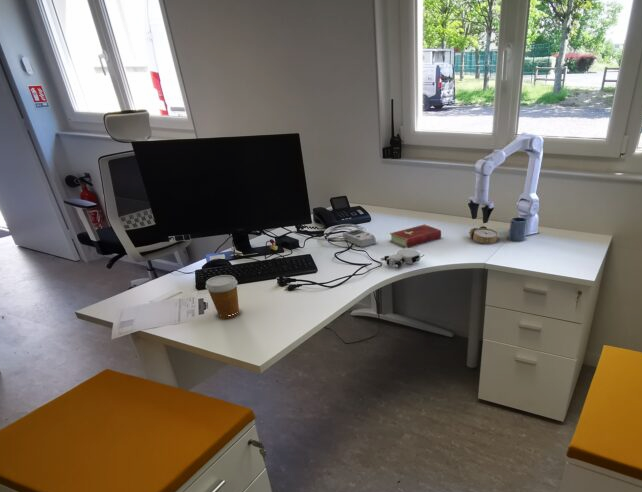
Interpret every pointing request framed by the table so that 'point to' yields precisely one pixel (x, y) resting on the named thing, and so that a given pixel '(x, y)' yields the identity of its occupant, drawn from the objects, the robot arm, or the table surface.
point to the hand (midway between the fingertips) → (479, 220)
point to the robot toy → (402, 257)
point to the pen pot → (517, 229)
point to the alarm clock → (484, 235)
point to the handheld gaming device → (359, 237)
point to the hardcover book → (415, 236)
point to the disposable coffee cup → (224, 295)
